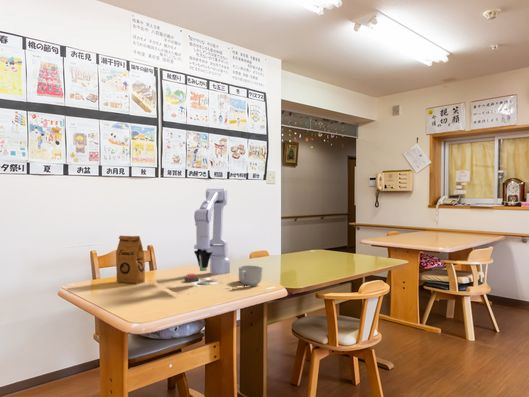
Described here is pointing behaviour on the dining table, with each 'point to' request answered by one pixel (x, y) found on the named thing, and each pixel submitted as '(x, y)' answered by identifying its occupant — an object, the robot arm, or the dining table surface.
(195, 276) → the button
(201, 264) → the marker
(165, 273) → the dining table surface
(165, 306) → the dining table surface
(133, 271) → the coffee package
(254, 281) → the teacup
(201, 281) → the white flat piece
